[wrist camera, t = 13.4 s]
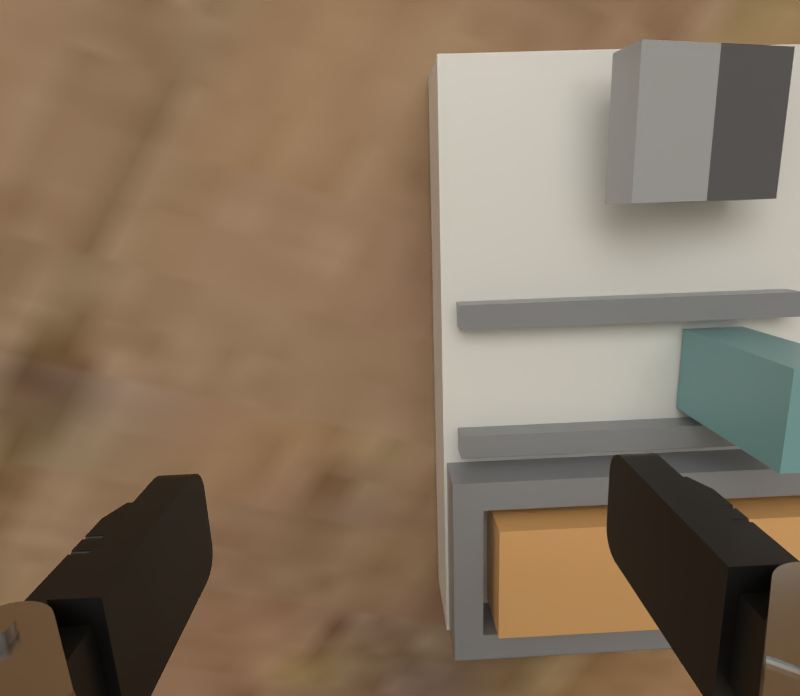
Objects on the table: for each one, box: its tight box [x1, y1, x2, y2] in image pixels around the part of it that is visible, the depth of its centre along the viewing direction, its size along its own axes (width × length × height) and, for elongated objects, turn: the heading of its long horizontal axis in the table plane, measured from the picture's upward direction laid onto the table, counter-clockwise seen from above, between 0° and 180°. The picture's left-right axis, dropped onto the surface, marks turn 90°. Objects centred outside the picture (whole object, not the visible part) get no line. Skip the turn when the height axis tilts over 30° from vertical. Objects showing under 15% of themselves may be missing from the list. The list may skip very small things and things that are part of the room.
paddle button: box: [487, 495, 800, 639], centre depth 19 cm, size 11×4×2 cm, turn 92°
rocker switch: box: [605, 39, 795, 205], centre depth 16 cm, size 5×4×2 cm
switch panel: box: [428, 44, 800, 661], centre depth 19 cm, size 14×20×5 cm
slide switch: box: [677, 326, 800, 474], centre depth 16 cm, size 2×3×5 cm
